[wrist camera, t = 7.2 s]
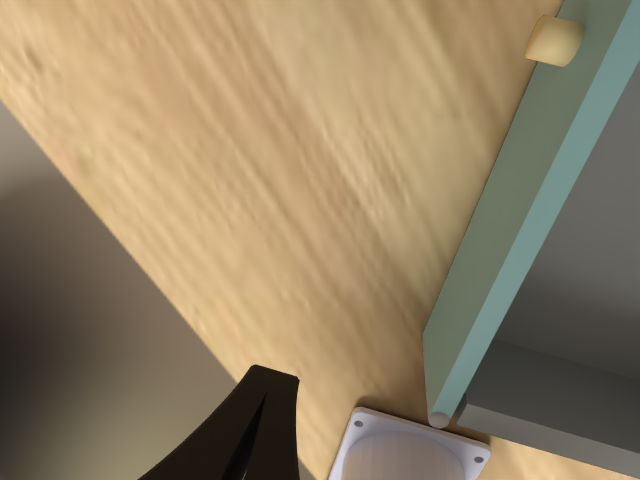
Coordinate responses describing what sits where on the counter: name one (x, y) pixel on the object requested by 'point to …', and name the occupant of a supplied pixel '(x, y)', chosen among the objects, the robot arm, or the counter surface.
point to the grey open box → (576, 320)
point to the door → (528, 184)
